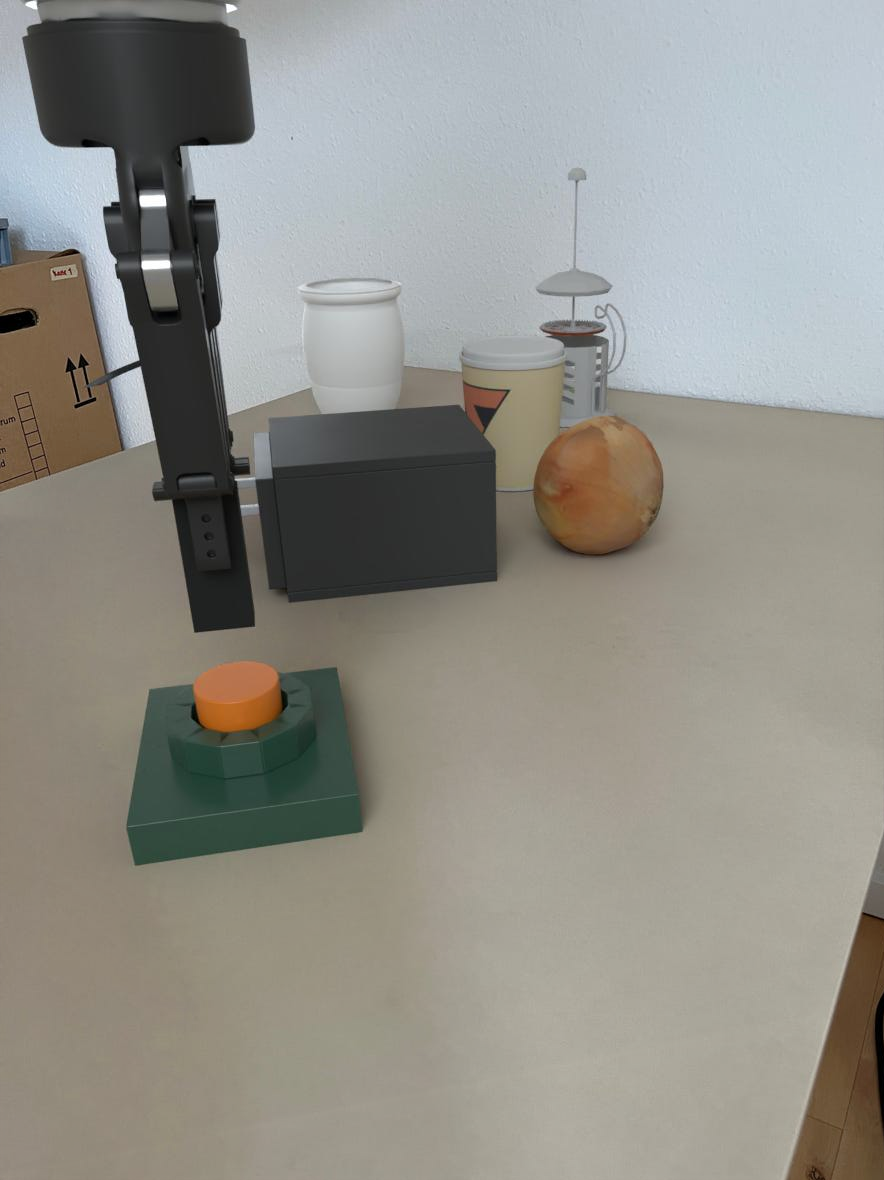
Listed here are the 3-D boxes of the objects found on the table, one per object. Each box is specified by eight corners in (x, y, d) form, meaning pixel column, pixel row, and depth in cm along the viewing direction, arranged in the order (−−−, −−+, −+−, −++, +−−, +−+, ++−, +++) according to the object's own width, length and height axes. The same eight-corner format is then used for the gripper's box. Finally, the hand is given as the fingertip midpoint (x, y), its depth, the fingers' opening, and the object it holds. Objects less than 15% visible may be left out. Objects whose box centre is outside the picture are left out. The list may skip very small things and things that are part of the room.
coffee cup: (447, 470, 92) (443, 340, 86) (536, 457, 95) (537, 330, 89) (487, 500, 84) (485, 359, 78) (582, 485, 87) (586, 348, 82)
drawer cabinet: (288, 603, 66) (272, 467, 62) (282, 537, 77) (268, 417, 73) (497, 581, 69) (495, 449, 64) (462, 520, 80) (459, 404, 75)
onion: (558, 518, 80) (561, 396, 75) (676, 536, 76) (687, 408, 71) (509, 560, 72) (509, 427, 68) (638, 582, 68) (647, 443, 64)
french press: (568, 400, 115) (574, 165, 103) (645, 418, 107) (661, 166, 96) (508, 415, 109) (507, 168, 97) (586, 436, 101) (594, 170, 90)
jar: (366, 450, 98) (355, 294, 91) (290, 435, 103) (274, 287, 96) (428, 425, 106) (422, 280, 99) (354, 413, 111) (344, 274, 104)
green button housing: (156, 723, 53) (143, 659, 51) (340, 700, 55) (333, 637, 53) (134, 866, 43) (117, 792, 41) (362, 833, 44) (355, 760, 43)
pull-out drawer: (204, 596, 65) (186, 485, 62) (209, 536, 75) (194, 437, 72) (463, 570, 69) (460, 463, 65) (435, 515, 78) (431, 419, 75)
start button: (200, 696, 48) (194, 665, 48) (281, 686, 49) (277, 656, 48) (196, 739, 45) (190, 707, 44) (284, 728, 46) (279, 696, 45)
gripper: (52, 34, 39) (152, 574, 50) (-26, -3, 28) (125, 704, 39) (243, 35, 40) (299, 560, 51) (244, 0, 29) (315, 682, 40)
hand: (225, 622), depth 45 cm, fingers closed
